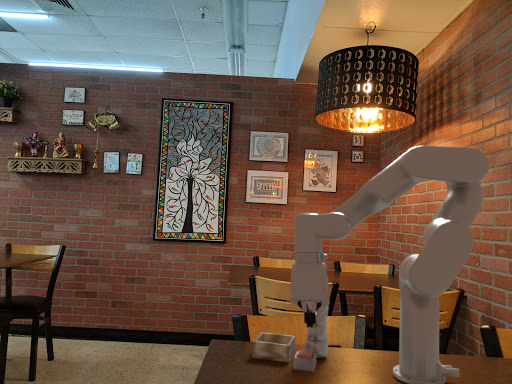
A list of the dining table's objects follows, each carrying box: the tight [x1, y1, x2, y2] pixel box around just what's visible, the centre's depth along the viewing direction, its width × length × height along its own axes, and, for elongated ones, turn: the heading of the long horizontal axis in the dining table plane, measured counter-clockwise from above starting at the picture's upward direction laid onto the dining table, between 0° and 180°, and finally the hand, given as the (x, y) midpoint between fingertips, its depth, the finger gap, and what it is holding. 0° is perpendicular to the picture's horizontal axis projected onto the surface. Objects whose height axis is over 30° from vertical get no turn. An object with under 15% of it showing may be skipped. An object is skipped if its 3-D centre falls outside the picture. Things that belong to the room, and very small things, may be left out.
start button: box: [298, 349, 313, 359], centre depth 109 cm, size 4×4×3 cm
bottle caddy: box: [252, 331, 296, 363], centre depth 118 cm, size 11×10×4 cm
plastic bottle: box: [304, 301, 329, 359], centre depth 118 cm, size 6×7×20 cm
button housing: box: [293, 350, 317, 373], centre depth 109 cm, size 5×5×3 cm
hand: (310, 326), depth 109 cm, fingers closed
